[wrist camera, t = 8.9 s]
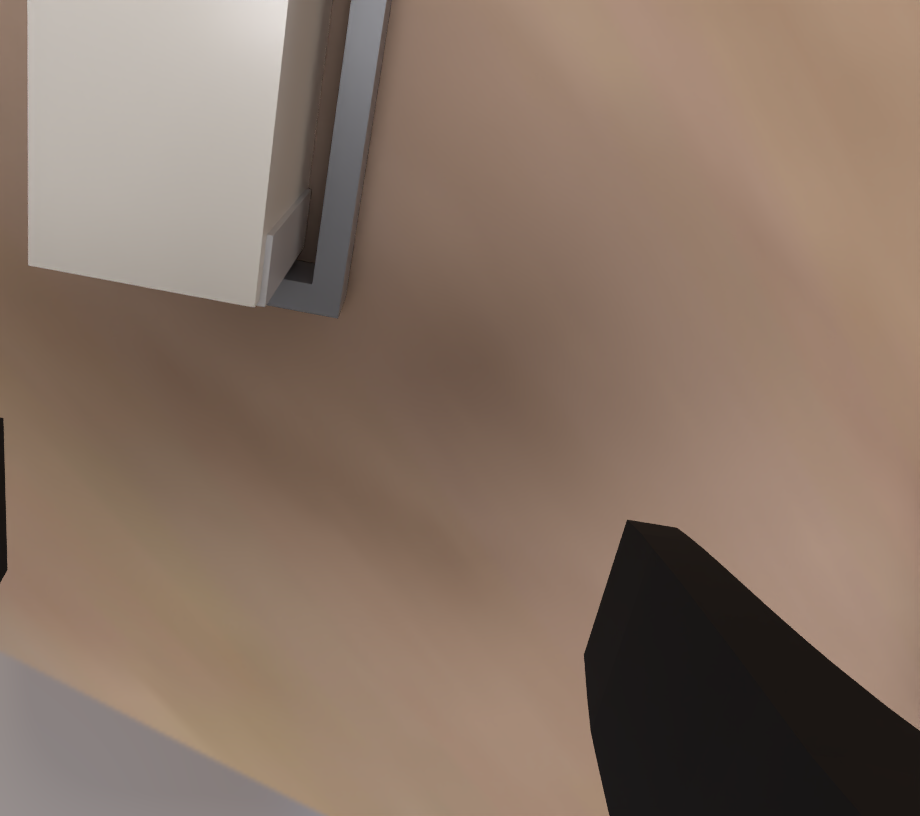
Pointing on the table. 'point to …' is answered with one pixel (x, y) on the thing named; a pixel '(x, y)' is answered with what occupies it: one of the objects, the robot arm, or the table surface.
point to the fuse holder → (342, 169)
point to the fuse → (173, 140)
